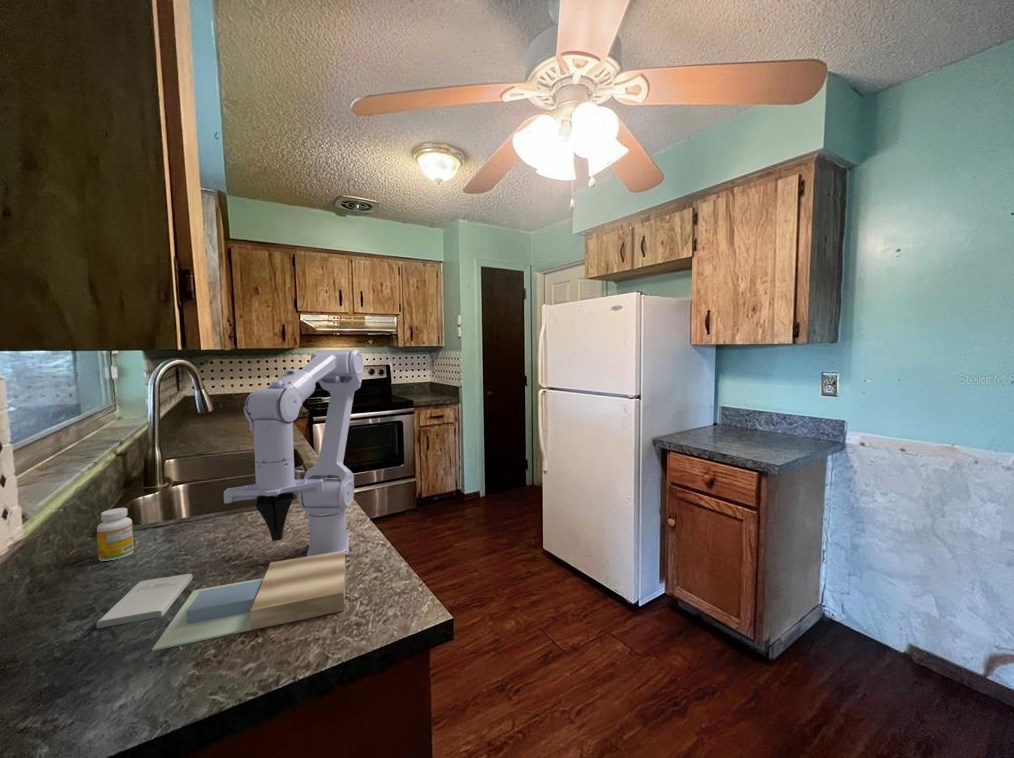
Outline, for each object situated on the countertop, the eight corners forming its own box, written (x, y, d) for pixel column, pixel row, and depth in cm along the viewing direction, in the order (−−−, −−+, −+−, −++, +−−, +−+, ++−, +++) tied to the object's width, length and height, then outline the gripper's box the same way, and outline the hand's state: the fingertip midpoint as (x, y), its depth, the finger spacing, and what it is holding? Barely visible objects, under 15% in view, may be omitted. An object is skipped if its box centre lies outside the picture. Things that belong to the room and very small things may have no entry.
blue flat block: (200, 602, 68) (200, 591, 68) (262, 591, 71) (262, 580, 71) (187, 624, 63) (186, 611, 62) (254, 610, 66) (254, 598, 66)
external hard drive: (96, 631, 62) (138, 589, 74) (162, 619, 65) (193, 580, 77) (96, 621, 62) (138, 580, 74) (161, 609, 65) (192, 572, 77)
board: (271, 578, 76) (270, 562, 76) (345, 565, 81) (345, 550, 81) (251, 630, 61) (250, 610, 61) (344, 610, 66) (343, 592, 66)
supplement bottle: (99, 556, 86) (97, 510, 86) (133, 548, 90) (131, 504, 90) (97, 565, 82) (94, 517, 82) (133, 556, 86) (131, 511, 86)
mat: (193, 591, 72) (193, 590, 72) (271, 578, 76) (270, 576, 76) (152, 651, 57) (152, 649, 57) (251, 630, 61) (251, 628, 61)
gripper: (216, 469, 63) (220, 556, 63) (320, 460, 68) (322, 540, 68) (229, 459, 69) (232, 538, 70) (322, 451, 74) (325, 525, 75)
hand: (277, 538), depth 69 cm, fingers closed
